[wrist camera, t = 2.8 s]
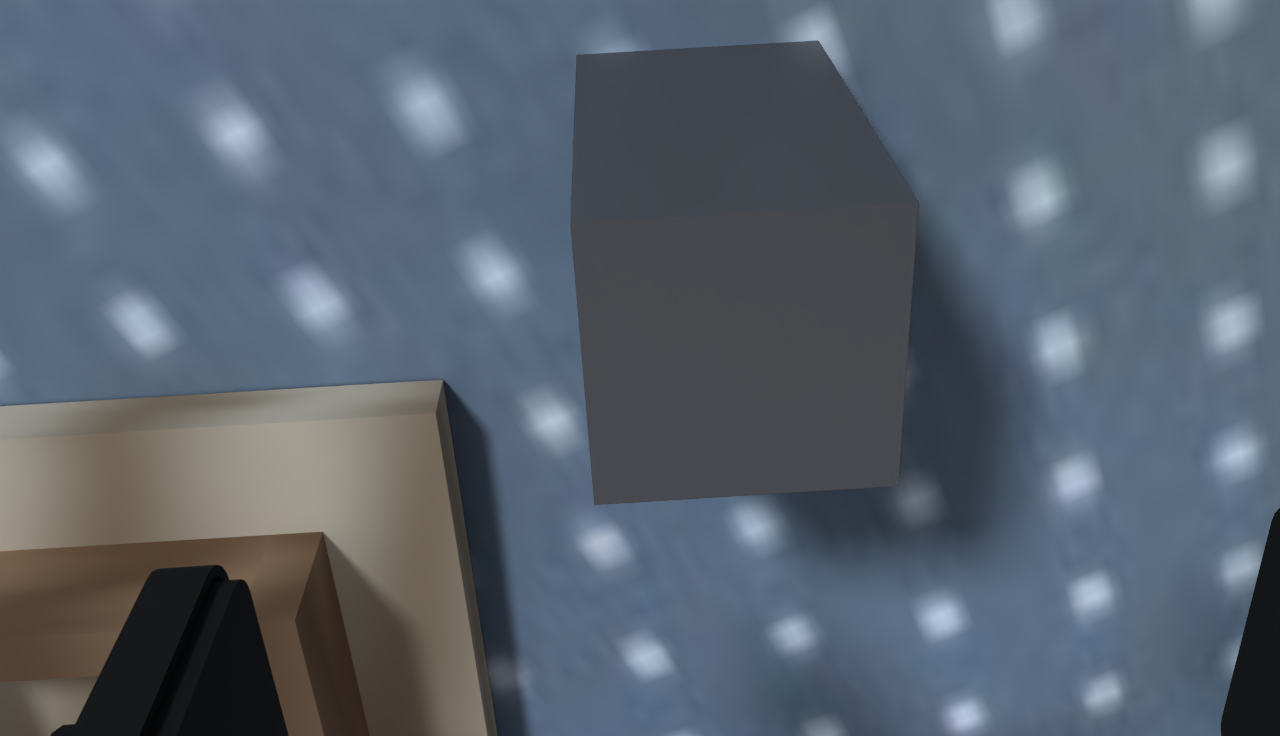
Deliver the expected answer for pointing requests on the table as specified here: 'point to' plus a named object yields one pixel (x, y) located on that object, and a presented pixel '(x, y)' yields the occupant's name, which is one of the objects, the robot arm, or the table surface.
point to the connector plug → (737, 275)
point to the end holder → (248, 548)
